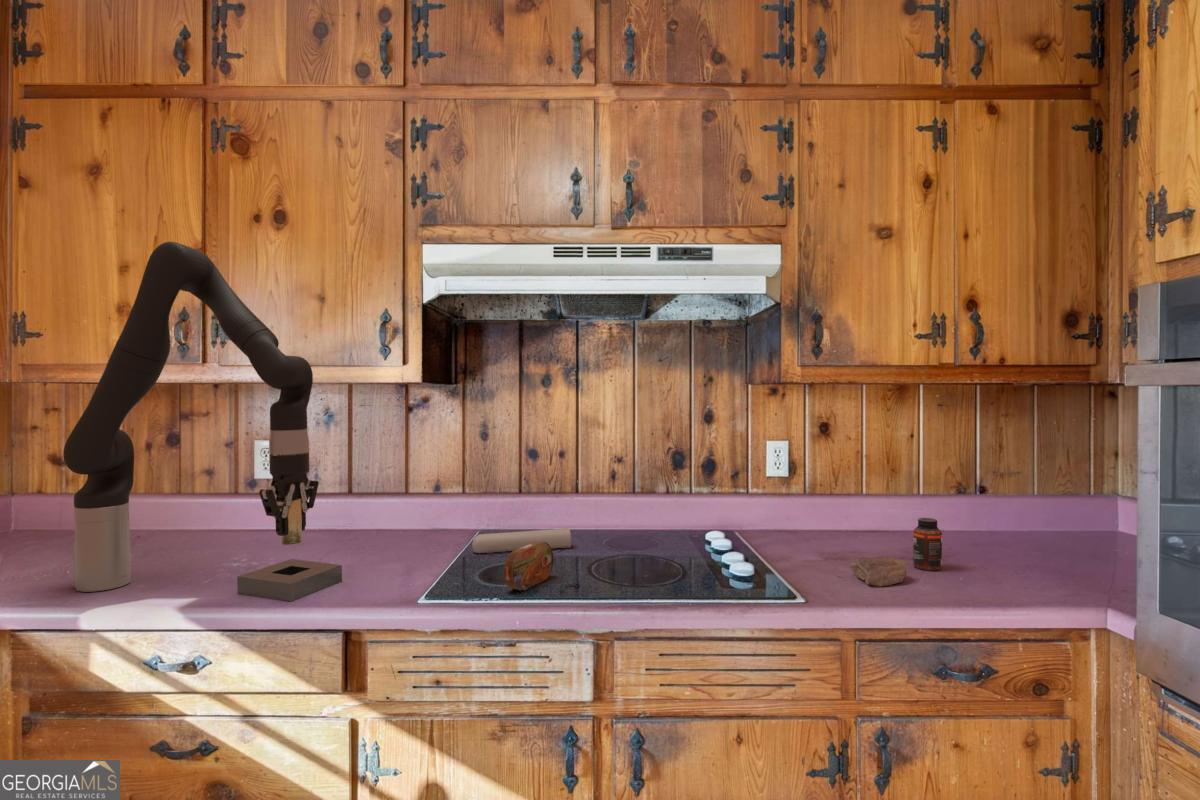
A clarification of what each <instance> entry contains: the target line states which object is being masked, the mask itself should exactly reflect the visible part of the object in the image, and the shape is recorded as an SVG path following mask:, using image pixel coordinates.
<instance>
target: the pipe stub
mask: <svg viewBox="0 0 1200 800" xmlns="http://www.w3.org/2000/svg"><path fill="white" fill-rule="evenodd" d="M280 502H284V501H282V500H280ZM281 510H282V506H281ZM281 510H280V511H281ZM286 517H287V518H288V535H286V536H280V544H281V545H289V546H290V545H295V544H299V543H300V544H301V543H302V542H303V531H302V508H301V499H300V498H299V499H293V500H291V505H290V506H289V507H288V512H287V516H286Z"/></svg>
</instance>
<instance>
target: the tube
mask: <svg viewBox="0 0 1200 800" xmlns="http://www.w3.org/2000/svg"><path fill="white" fill-rule="evenodd" d="M534 542H546V543H548V544H549V545H550V547H551V549H552V550H557V549H556V548H563V549H571V547H572V546H571V545H572V533H571V529H570V528H569V527H565V528H556V529H555V528H554V529H552V528H551V529H542V530H541V529H539V530H526V531H525V530H524V531H512V532H509V531H508V532H496V533H495V532H494V533H493V532H492V533H482V534H481V533H480V534H477V535H476V536H474V538H473V541H472V543H471V547H472V550H473V552H475V553H476V554H477V553H479V554H478V555H481V554H480V553H487V554H494V553H493V552H502V553H506V552H505V551H514V550H516V549H519V548H521V547H524V546H526V545H529V544H531V543H534Z"/></svg>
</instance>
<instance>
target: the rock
mask: <svg viewBox="0 0 1200 800" xmlns="http://www.w3.org/2000/svg"><path fill="white" fill-rule="evenodd" d="M907 563H908V562H907V561H905V560H903V559H899V558H897V557H889V556H885V555H884V556H874V557H867V558H866V557H865V558H864V557H857V558H855V559H854V562H853V563H850V565H849V566H850V570H851V571H852V572H853V573H854V574H855V577H856V578H857V579H860V580H862V581H863V582H865V583H866V585H869V586H873V587H874V586H875V587H885V586H887V587H888V586H893V585H894V584H898V583H901V582H903V581H904V578H906V576H907V573H908V570H907V569H908V567H907Z"/></svg>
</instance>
